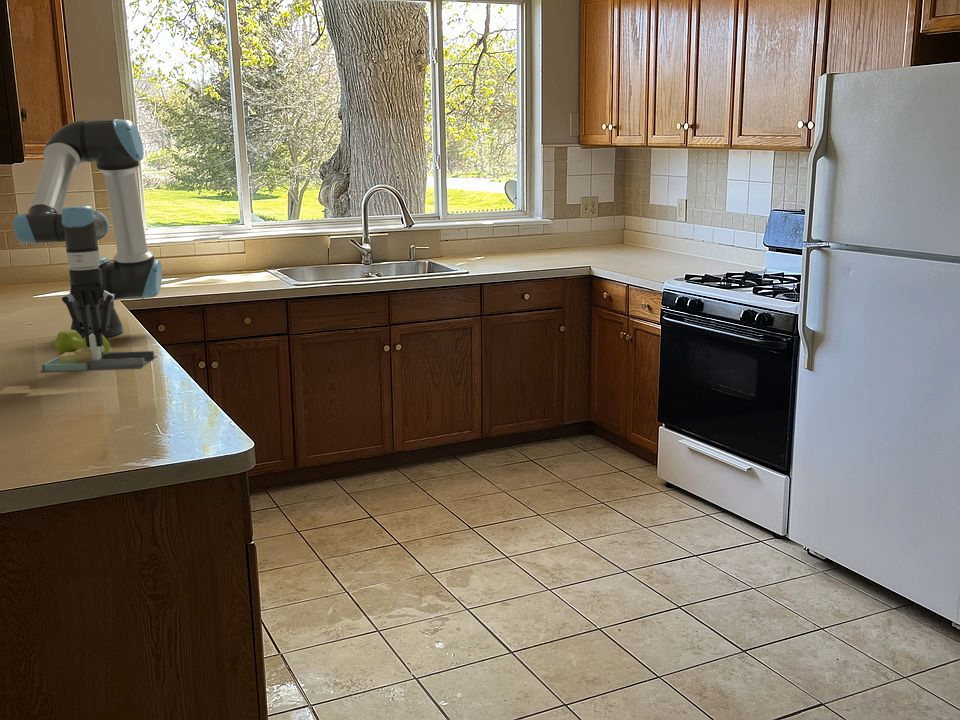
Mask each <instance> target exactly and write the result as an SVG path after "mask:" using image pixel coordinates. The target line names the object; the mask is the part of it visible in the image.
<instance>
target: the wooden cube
mask: <svg viewBox="0 0 960 720" xmlns="http://www.w3.org/2000/svg"><path fill="white" fill-rule="evenodd" d="M73 352H74V354H75V361H76V363H87V367H88V362H87V361H88V360H92V357H91V349H90V348H80V349H78V350H76V351H73Z"/></svg>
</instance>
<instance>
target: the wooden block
mask: <svg viewBox="0 0 960 720" xmlns="http://www.w3.org/2000/svg"><path fill="white" fill-rule="evenodd" d="M58 356H59V360H60V363H59V364H74V363H76V361H75V354H74V351H72V352H64V353H60V355H58Z"/></svg>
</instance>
